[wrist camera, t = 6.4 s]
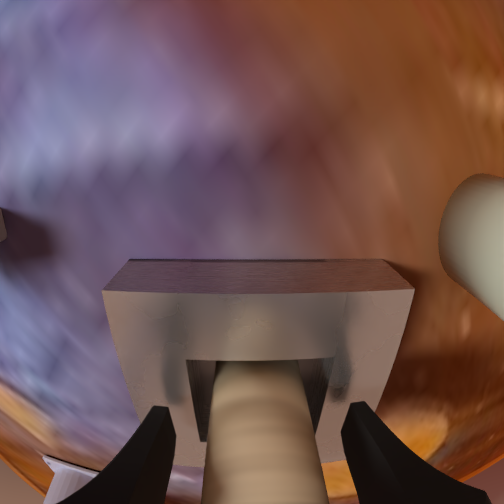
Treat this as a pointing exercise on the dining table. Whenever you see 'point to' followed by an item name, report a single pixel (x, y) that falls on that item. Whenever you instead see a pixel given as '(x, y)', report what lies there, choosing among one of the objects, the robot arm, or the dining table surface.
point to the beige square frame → (256, 335)
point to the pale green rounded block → (476, 239)
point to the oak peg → (261, 437)
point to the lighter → (2, 228)
